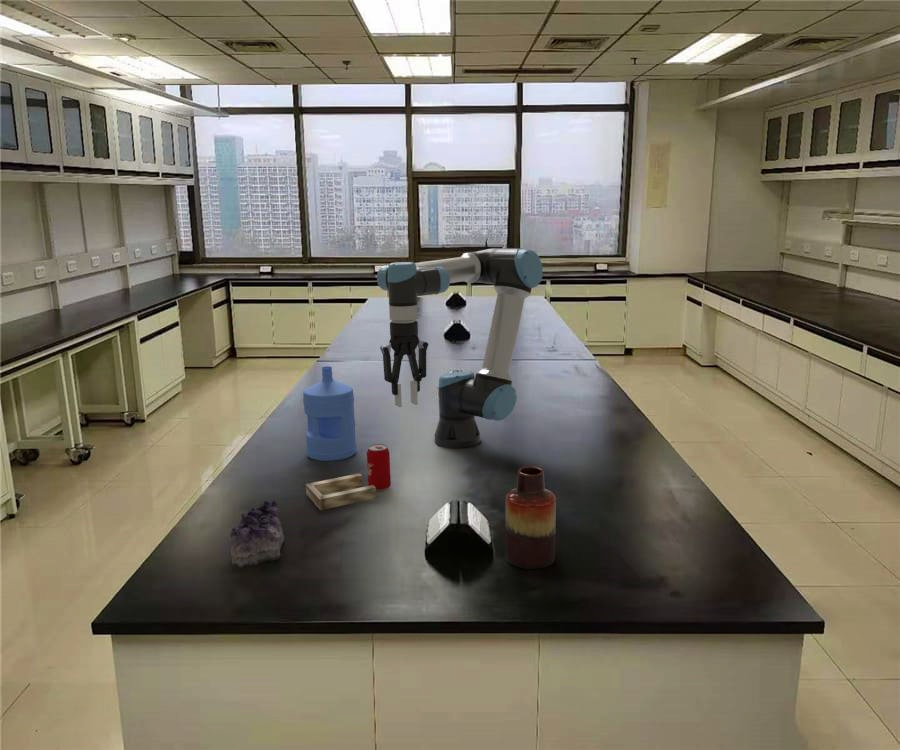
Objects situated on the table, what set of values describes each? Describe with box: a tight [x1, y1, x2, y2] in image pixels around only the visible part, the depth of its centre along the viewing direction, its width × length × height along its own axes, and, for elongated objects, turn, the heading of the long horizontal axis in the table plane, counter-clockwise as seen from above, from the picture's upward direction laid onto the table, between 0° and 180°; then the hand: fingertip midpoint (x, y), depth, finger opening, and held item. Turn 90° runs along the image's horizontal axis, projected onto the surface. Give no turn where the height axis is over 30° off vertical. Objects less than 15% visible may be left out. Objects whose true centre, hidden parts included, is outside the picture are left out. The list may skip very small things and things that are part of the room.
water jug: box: [302, 365, 358, 462], centre depth 221 cm, size 16×16×28 cm
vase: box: [505, 466, 557, 570], centre depth 153 cm, size 11×11×20 cm
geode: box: [229, 500, 286, 570], centre depth 161 cm, size 20×12×10 cm, turn 7°
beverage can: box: [366, 443, 392, 492], centre depth 194 cm, size 6×6×12 cm
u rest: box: [305, 473, 377, 511], centre depth 190 cm, size 16×12×3 cm
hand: (406, 404), depth 195 cm, fingers open, 4 cm apart
